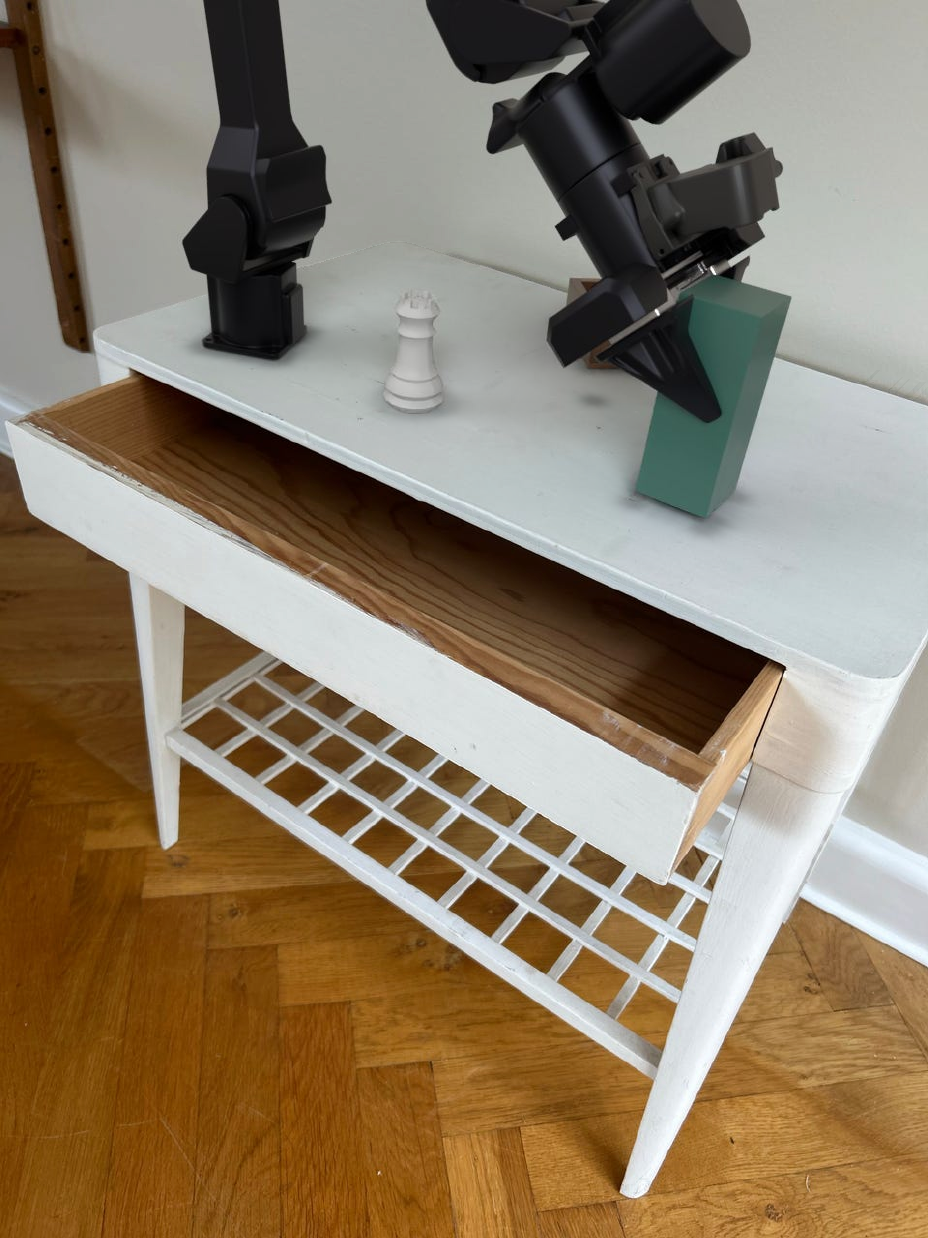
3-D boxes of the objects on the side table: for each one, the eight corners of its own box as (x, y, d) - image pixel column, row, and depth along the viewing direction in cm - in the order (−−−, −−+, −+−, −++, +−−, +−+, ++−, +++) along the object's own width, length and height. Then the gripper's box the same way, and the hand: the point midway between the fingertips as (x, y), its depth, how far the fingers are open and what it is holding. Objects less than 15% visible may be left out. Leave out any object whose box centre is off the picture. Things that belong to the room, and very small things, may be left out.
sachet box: (634, 490, 65) (679, 292, 58) (667, 464, 69) (713, 273, 61) (705, 518, 63) (761, 317, 56) (735, 489, 67) (792, 296, 59)
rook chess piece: (455, 403, 75) (463, 298, 70) (413, 421, 72) (417, 313, 68) (413, 383, 77) (417, 279, 72) (370, 399, 75) (372, 293, 70)
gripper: (634, 109, 47) (797, 398, 49) (772, 64, 60) (896, 296, 62) (479, 240, 55) (625, 483, 57) (629, 175, 68) (744, 377, 70)
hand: (731, 404), depth 61 cm, fingers closed on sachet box, 5 cm apart
